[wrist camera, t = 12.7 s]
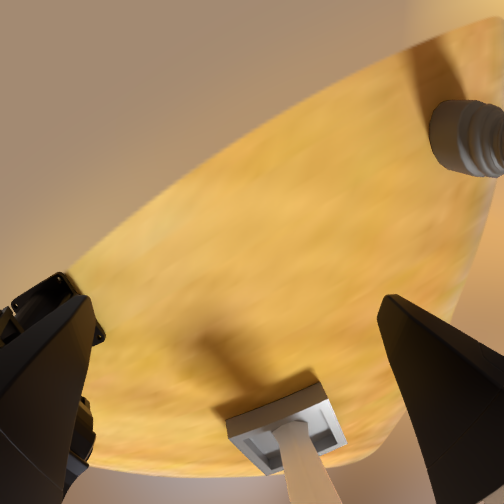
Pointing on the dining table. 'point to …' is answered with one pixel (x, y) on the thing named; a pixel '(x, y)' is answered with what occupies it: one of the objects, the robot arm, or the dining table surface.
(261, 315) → the dining table surface
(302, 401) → the gray tray
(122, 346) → the dining table surface
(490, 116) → the candle holder
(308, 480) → the perfume bottle
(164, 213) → the dining table surface
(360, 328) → the dining table surface
